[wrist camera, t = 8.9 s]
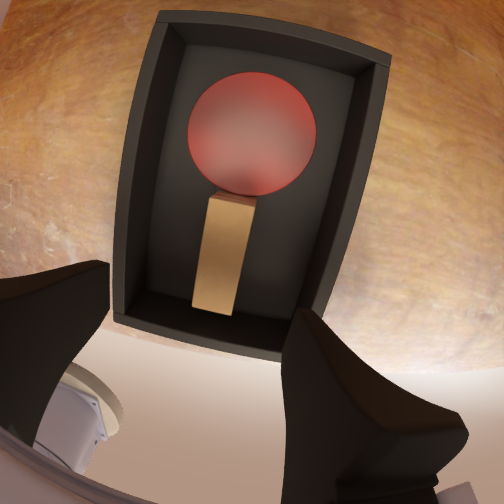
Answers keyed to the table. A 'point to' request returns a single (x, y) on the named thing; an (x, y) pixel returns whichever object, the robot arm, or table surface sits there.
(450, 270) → the table surface
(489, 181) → the table surface
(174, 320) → the bin
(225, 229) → the paddle
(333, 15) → the table surface
